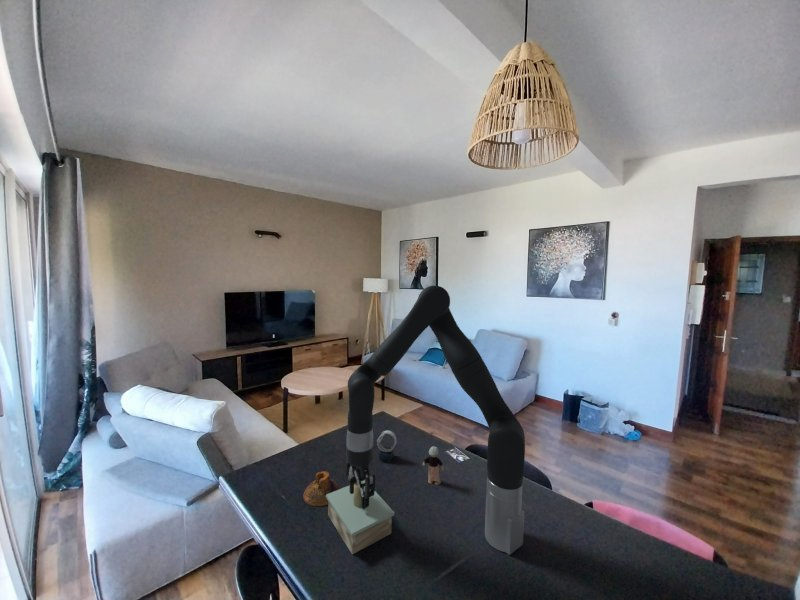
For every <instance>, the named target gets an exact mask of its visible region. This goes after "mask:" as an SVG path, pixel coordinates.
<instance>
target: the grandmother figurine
mask: <svg viewBox="0 0 800 600" xmlns="http://www.w3.org/2000/svg"><path fill="white" fill-rule="evenodd" d="M428 454H429V455H430V456H427V457H426V458H424V460H423V462H422V466H423V467H425V466H426V465H427V464H428V466H427V467H428V472H427V473H428V475H427V477H428V480H427V482H428V484H430V485H433V484H434V486H435V485H436V486H439V485H440V484H441V483H442V482H441V479H440V470H441V471H442V472H443V471H445V467H444V464H443V462H442V460H441V459H440V458H439V457H438V455H439V449H438V447H437V446H431V447H430V448H429V450H428Z"/></svg>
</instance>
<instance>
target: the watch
mask: <svg viewBox="0 0 800 600" xmlns="http://www.w3.org/2000/svg"><path fill="white" fill-rule="evenodd" d="M386 435H389V436H391V437H392V438H393V440H394V442H393V444H392V446H391V447H389V446H383V445H382V444H381V442H382V440H383V439H384V438H385V436H386ZM376 442H377V443H376V445H377V447H378V449H379V450H380V451H379V453H378V456H379V457H378V460H379V461H381V462H383V463H385V464H390V463H391V462H392V459H394V455H395V447H396V445H397V443H398V438H397V435H396V434H395V432H394V431H391V430H388V429H386V430H383V431H382V432H381V433H380V434H379V437H378V438H377V440H376Z"/></svg>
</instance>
